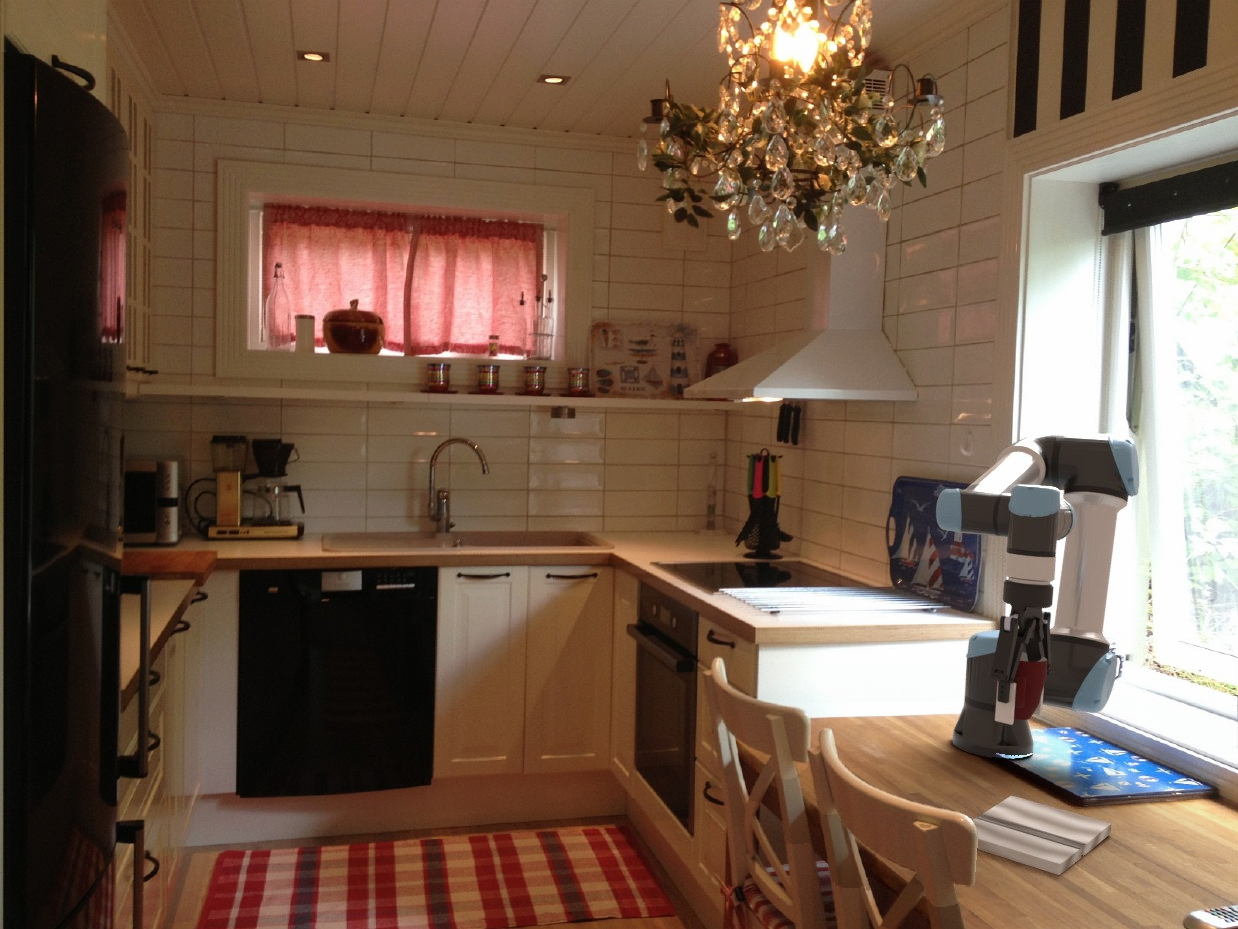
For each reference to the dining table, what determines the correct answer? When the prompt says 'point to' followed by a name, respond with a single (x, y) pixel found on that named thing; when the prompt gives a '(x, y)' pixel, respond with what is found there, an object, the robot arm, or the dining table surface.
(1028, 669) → the mug
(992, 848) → the laid board
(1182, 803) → the dining table surface
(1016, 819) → the plank
